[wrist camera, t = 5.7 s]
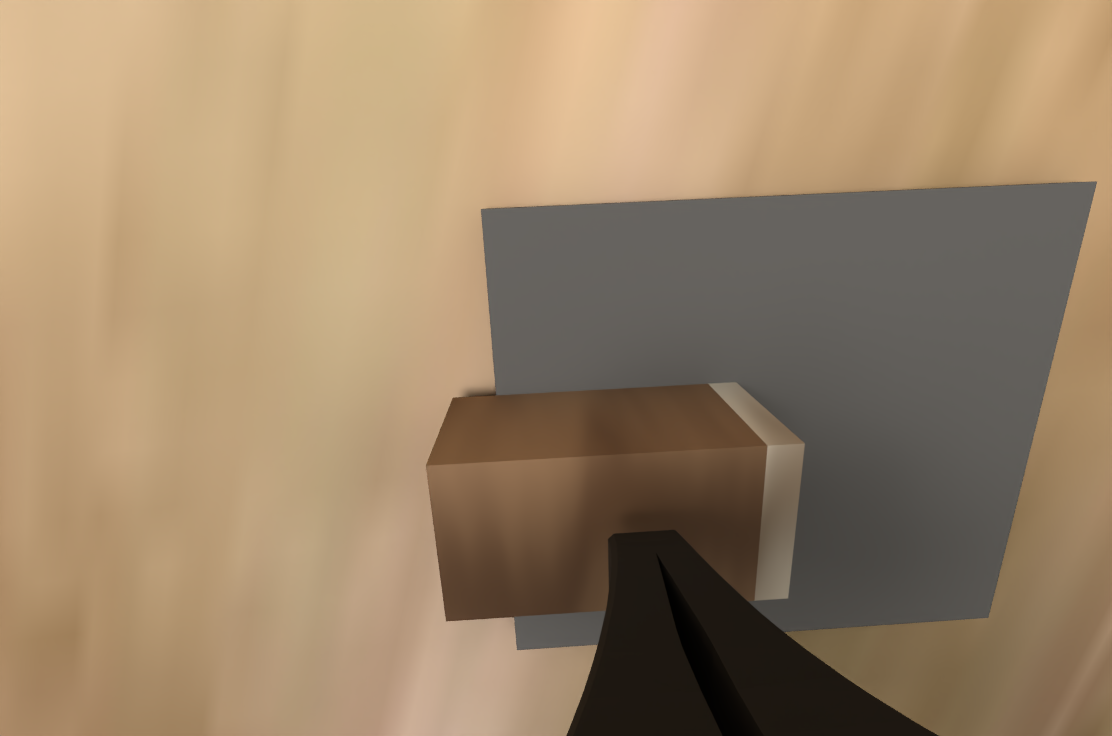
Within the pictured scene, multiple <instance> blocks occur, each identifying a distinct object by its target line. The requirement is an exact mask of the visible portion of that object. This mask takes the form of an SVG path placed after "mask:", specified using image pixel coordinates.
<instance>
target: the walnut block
mask: <svg viewBox="0 0 1112 736" xmlns="http://www.w3.org/2000/svg"><path fill="white" fill-rule="evenodd" d="M804 447H805V443H804V442H803V441H801V440H800V439H799V438H798V437H797V436H796V435H795V434H794V433H792V432H791V431H790V430H789V429H788V428H787V427H786V426H785V425H784V424H782V423H781V422H780V421H779V420H778V419H777V418H776V417H775V416H773V415H772V414H771V413H770V412H769V411H768V410H767V409H766V408H764V407H763V406H762V405H761V404H760V403H759V402H758V401H757V400H755V399H754V398H753V397H752V396H751V395H750V394H749V393H748V392H747V391H745V390H744V389H743V388H742V387H741V386H740V385H739V384H738V383H736V382H730V383H712V384H694V385H676V386H658V387H639V388H621V389H603V390H585V391H567V392H549V393H531V394H512V395H494V396H476V397H458V398H453V399H452V402H451V404H450V407H449V409H448V412H447V414H446V417H445V419H444V422H443V424H442V427H441V429H440V432H439V434H438V437H437V439H436V442H435V444H434V447H433V449H432V452H431V454H430V457H429V459H428V462H427V464H426V470H427V477H428V485H429V493H430V501H431V508H432V516H433V524H434V531H435V539H436V547H437V555H438V562H439V570H440V578H441V586H442V593H443V601H444V609H445V616H446V621H459V620H474V619H489V618H504V617H519V616H534V615H548V614H563V613H578V612H593V611H606V607H607V600H608V593H609V570H608V538H609V537H611V536H612V535H613V534H615V533H630V532H646V531H661V530H676V531H677V532H678V533H679V534H680V535H681V536H682V537H683V538H684V539H685V540H686V541H687V542H688V543H689V544H690V545H691V546H692V547H693V548H694V549H695V550H696V551H697V552H698V553H699V555H700V556H701V557H702V558H703V559H704V560H705V561H706V562H707V563H708V564H709V565H710V566H711V567H712V568H713V569H714V570H715V571H716V572H717V573H718V574H719V575H720V576H721V577H723V578H724V579H725V580H726V581H727V582H728V583H729V584H730V585H731V586H732V587H733V588H734V589H735V590H736V591H737V592H738V593H740V594H741V595H742V596H743V597H744V598H745V599H746V600H747V601H757V600H772V599H787V598H788V595H789V586H790V576H791V567H792V558H793V549H794V539H795V530H796V521H797V512H798V502H799V493H800V484H801V475H802V465H803V456H804Z"/></svg>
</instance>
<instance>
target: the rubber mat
mask: <svg viewBox="0 0 1112 736" xmlns="http://www.w3.org/2000/svg"><path fill="white" fill-rule="evenodd" d="M1096 184H1097V182H1070V183H1048V184H1025V185H1003V186H981V187H959V188H937V189H914V190H892V191H870V192H848V193H826V194H803V195H781V196H759V197H737V198H715V199H692V200H670V201H648V202H626V203H604V204H581V205H559V206H537V207H515V208H493V209H481V215H482V227H483V240H484V252H485V264H486V276H487V289H488V301H489V313H490V325H491V338H492V350H493V362H494V374H495V387H496V395H512V394H531V393H549V392H567V391H585V390H603V389H621V388H639V387H658V386H676V385H694V384H712V383H730V382H736V383H738V384H739V385H740V386H741V387H742V388H743V389H744V390H745V391H747V392H748V393H749V394H750V395H751V396H752V397H753V398H754V399H755V400H757V401H758V402H759V403H760V404H761V405H762V406H763V407H764V408H766V409H767V410H768V411H769V412H770V413H771V414H772V415H773V416H775V417H776V418H777V419H778V420H779V421H780V422H781V423H782V424H784V425H785V426H786V427H787V428H788V429H789V430H790V431H791V432H792V433H794V434H795V435H796V436H797V437H798V438H799V439H800V440H801V441H803V442H804V443H805V447H804V456H803V465H802V475H801V484H800V493H799V502H798V512H797V521H796V530H795V539H794V549H793V558H792V567H791V576H790V586H789V595H788V598H787V599H772V600H757V601H748V602H749V603H750V604H751V605H753V606H754V607H755V608H756V609H757V610H758V611H759V612H760V613H762V614H763V615H764V616H765V617H766V618H767V619H769V620H770V621H771V622H772V623H773V624H775V625H776V626H777V627H778V628H779V629H781V630H782V631H783V632H788V631H802V630H817V629H832V628H846V627H861V626H875V625H890V624H904V623H919V622H933V621H948V620H962V619H977V618H988V617H989V613H990V609H991V605H992V601H993V597H994V593H995V589H996V585H997V581H998V577H999V573H1000V569H1001V565H1002V561H1003V557H1004V553H1005V549H1006V545H1007V541H1008V537H1009V533H1010V529H1011V525H1012V521H1013V517H1014V513H1015V509H1016V505H1017V501H1018V497H1019V493H1020V489H1021V485H1022V481H1023V477H1024V473H1025V469H1026V464H1027V460H1028V456H1029V452H1030V448H1031V444H1032V440H1033V436H1034V432H1035V428H1036V424H1037V420H1038V416H1039V412H1040V408H1041V404H1042V400H1043V396H1044V392H1045V388H1046V384H1047V380H1048V376H1049V372H1050V368H1051V364H1052V360H1053V356H1054V352H1055V348H1056V344H1057V340H1058V336H1059V332H1060V328H1061V324H1062V320H1063V316H1064V312H1065V308H1066V304H1067V300H1068V296H1069V292H1070V288H1071V284H1072V280H1073V276H1074V272H1075V268H1076V264H1077V260H1078V256H1079V252H1080V248H1081V244H1082V240H1083V236H1084V232H1085V228H1086V224H1087V220H1088V216H1089V212H1090V208H1091V204H1092V200H1093V196H1094V192H1095V188H1096ZM605 612H606V611H593V612H578V613H563V614H548V615H534V616H519V617H514V620H515V632H516V644H517V650H526V649H541V648H555V647H570V646H584V645H598V642H599V638H600V634H601V630H602V625H603V621H604V617H605Z"/></svg>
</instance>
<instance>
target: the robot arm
mask: <svg viewBox="0 0 1112 736" xmlns="http://www.w3.org/2000/svg"><path fill="white" fill-rule="evenodd" d="M608 570H609V593H608V600H607V607H606V612H605V617H604V621H603V625H602V630H601V634H600V638H599V642H598V646H597V650H596V654H595V657H594V661H593V664H592V667H591V671H590V674H589V677H588V680H587V683H586V686H585V689H584V692H583V694H582V697H581V700H580V702H579V705H578V708H577V710H576V713H575V716H574V718H573V721H572V723H571V726H570V728H569V731H568V733H567V736H938V735H936V734H935V733H933V732H931V731H929V730H928V729H926V728H924V727H922V726H921V725H919V724H917V723H916V722H914V721H912V720H911V719H909V718H907V717H906V716H904V715H903V714H901V713H899V712H898V711H896V710H895V709H893V708H891V707H890V706H888V705H887V704H885V703H883V702H882V701H880V700H879V699H877V698H875V697H874V696H872V695H871V694H869V693H867V692H866V691H864V690H863V689H861V688H860V687H858V686H857V685H855V684H854V683H852V682H851V681H849V680H848V679H846V678H845V677H843V676H842V675H841V674H839V673H838V672H836V671H835V670H834V669H832V668H831V667H830V666H828V665H827V664H825V663H824V662H823V661H821V660H820V659H818V658H817V657H816V656H814V655H813V654H811V653H810V652H809V651H807V650H806V649H805V648H803V647H802V646H801V645H799V644H798V643H797V642H796V641H794V640H793V639H792V638H790V637H789V636H788V635H787V634H785V633H784V632H783V631H782V630H781V629H779V628H778V627H777V626H776V625H775V624H773V623H772V622H771V621H770V620H769V619H767V618H766V617H765V616H764V615H763V614H762V613H760V612H759V611H758V610H757V609H756V608H755V607H754V606H753V605H751V604H750V603H749V602H748V601H747V600H746V599H745V598H744V597H743V596H742V595H741V594H740V593H738V592H737V591H736V590H735V589H734V588H733V587H732V586H731V585H730V584H729V583H728V582H727V581H726V580H725V579H724V578H723V577H721V576H720V575H719V574H718V573H717V572H716V571H715V570H714V569H713V568H712V567H711V566H710V565H709V564H708V563H707V562H706V561H705V560H704V559H703V558H702V557H701V556H700V555H699V553H698V552H697V551H696V550H695V549H694V548H693V547H692V546H691V545H690V544H689V543H688V542H687V541H686V540H685V539H684V538H683V537H682V536H681V535H680V534H679V533H678V532H677V531H676V530H661V531H646V532H630V533H615V534H613V535H612V536H611V537H609V538H608Z"/></svg>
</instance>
